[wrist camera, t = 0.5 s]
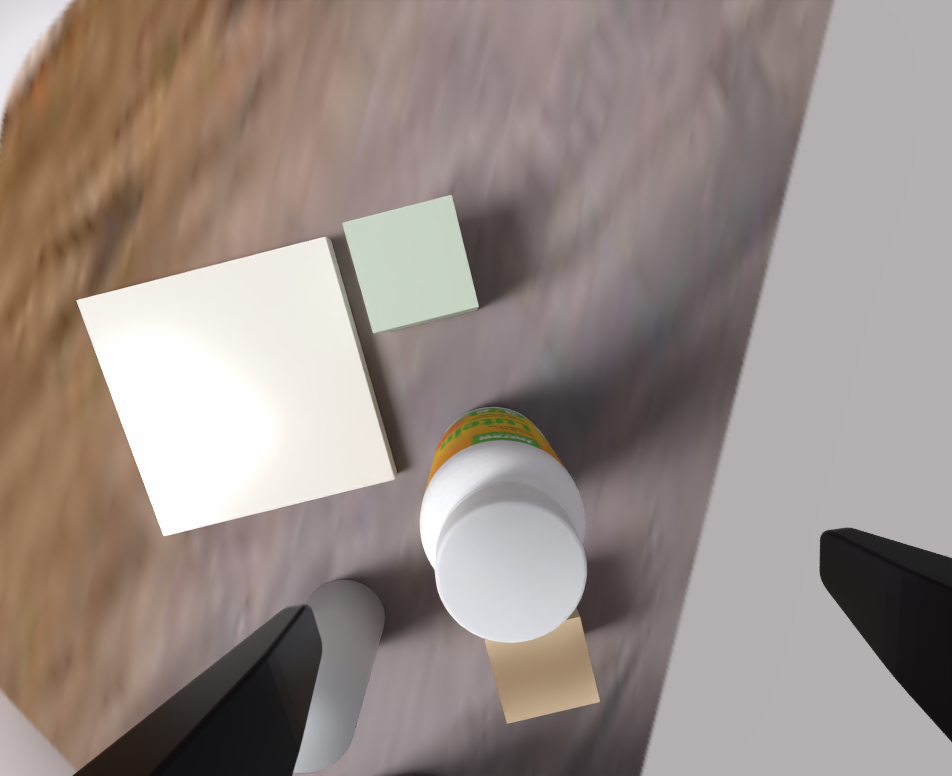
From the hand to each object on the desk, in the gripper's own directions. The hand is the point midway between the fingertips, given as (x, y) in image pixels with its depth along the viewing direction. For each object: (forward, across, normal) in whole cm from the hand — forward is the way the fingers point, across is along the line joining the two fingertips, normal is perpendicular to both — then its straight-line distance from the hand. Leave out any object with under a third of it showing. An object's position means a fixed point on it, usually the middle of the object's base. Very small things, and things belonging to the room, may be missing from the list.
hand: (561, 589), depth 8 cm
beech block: (+12, +1, +11) cm, 16 cm away
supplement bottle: (+13, +1, +3) cm, 13 cm away
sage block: (+14, +3, -6) cm, 15 cm away
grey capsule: (+12, +10, +10) cm, 18 cm away
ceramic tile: (+13, +12, -2) cm, 18 cm away
